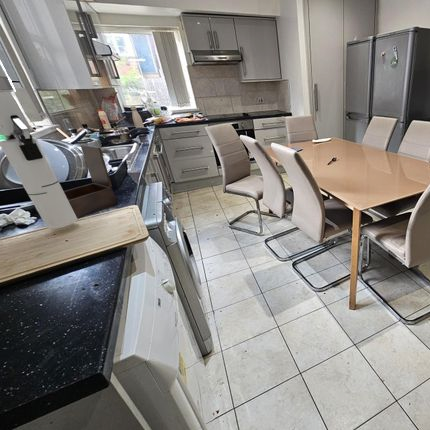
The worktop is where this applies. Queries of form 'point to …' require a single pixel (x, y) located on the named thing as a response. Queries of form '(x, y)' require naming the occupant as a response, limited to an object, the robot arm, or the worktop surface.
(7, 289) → the worktop surface
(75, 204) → the chest
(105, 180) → the lid
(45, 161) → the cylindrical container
